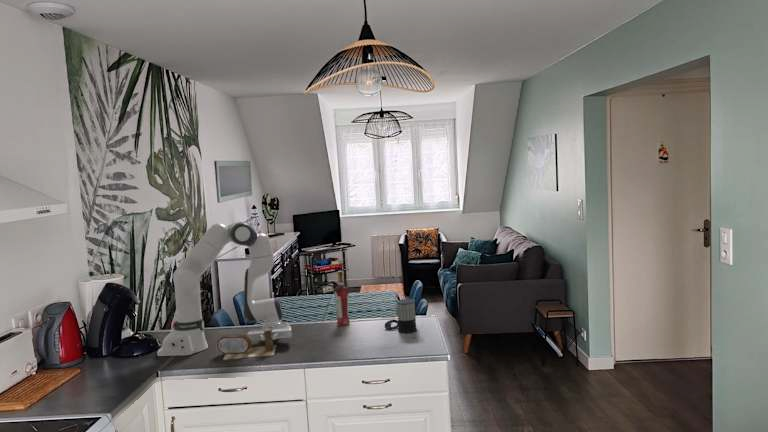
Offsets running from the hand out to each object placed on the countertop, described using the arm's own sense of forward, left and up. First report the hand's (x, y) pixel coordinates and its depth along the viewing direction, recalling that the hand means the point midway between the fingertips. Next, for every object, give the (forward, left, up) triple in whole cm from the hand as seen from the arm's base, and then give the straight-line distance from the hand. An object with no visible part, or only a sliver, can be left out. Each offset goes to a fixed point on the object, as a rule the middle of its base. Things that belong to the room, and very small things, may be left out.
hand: (268, 338), depth 260 cm
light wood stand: (-9, +1, -6) cm, 10 cm away
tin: (-15, +1, -6) cm, 16 cm away
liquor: (+35, +35, -6) cm, 50 cm away
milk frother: (+62, +16, -6) cm, 65 cm away
